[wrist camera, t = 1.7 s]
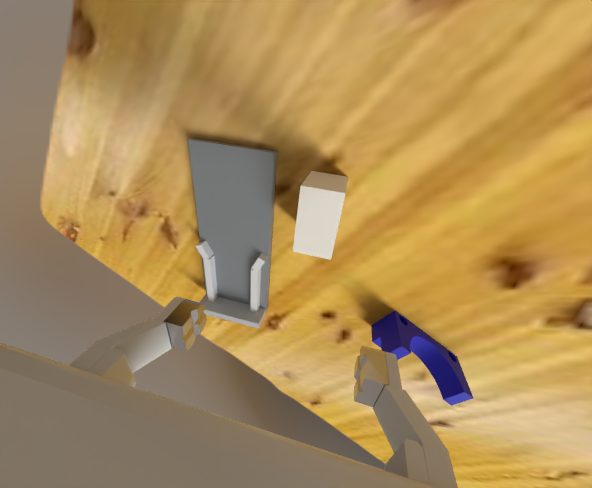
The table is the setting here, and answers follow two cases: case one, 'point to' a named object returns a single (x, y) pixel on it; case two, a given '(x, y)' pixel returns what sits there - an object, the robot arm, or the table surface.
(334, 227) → the panel block
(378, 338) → the cable clip
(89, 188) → the table surface
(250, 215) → the mounting plate
